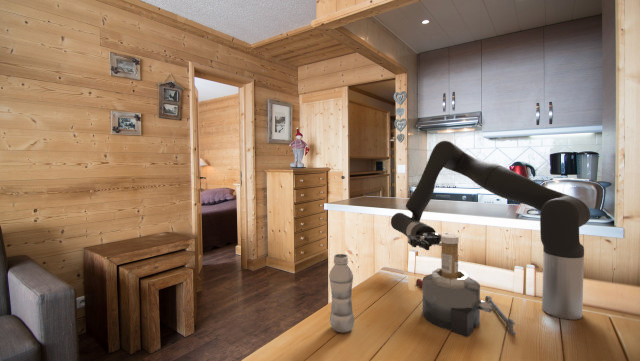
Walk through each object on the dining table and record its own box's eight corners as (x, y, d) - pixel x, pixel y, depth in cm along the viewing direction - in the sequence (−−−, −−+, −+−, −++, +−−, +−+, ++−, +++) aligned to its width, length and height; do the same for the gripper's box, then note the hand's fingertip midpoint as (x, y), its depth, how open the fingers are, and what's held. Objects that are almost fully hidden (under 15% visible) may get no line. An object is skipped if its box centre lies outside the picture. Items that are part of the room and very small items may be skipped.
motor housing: (436, 300, 101) (436, 261, 101) (499, 319, 89) (499, 275, 88) (412, 317, 91) (412, 274, 90) (479, 342, 78) (480, 292, 77)
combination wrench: (485, 292, 99) (511, 323, 80) (489, 292, 99) (517, 323, 80) (485, 304, 100) (511, 338, 80) (489, 304, 99) (517, 338, 80)
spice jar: (461, 284, 89) (462, 236, 88) (447, 286, 88) (447, 237, 87) (451, 278, 93) (451, 233, 92) (437, 280, 92) (437, 234, 91)
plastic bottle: (338, 338, 81) (336, 261, 80) (325, 326, 87) (324, 254, 86) (359, 331, 84) (358, 257, 83) (345, 320, 90) (344, 251, 89)
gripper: (400, 223, 110) (419, 234, 94) (440, 222, 111) (465, 233, 95) (400, 245, 110) (419, 260, 94) (440, 243, 111) (465, 257, 95)
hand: (442, 246), depth 94 cm, fingers open, 8 cm apart
